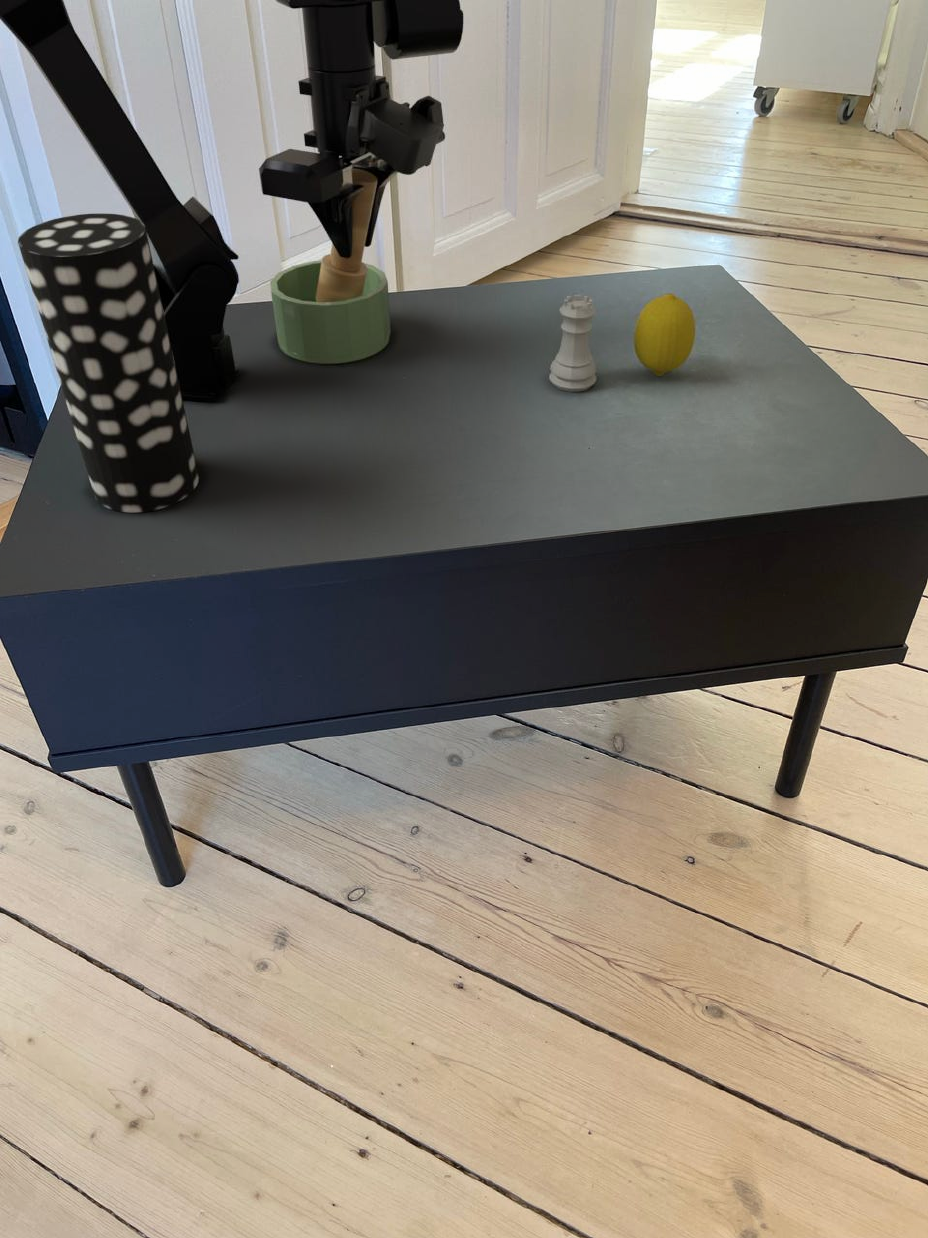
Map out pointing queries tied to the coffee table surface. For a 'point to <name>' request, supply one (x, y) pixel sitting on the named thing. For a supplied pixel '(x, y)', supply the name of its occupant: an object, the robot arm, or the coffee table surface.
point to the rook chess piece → (574, 347)
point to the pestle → (349, 274)
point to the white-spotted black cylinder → (113, 357)
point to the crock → (329, 317)
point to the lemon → (664, 334)
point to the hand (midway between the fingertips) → (355, 251)
